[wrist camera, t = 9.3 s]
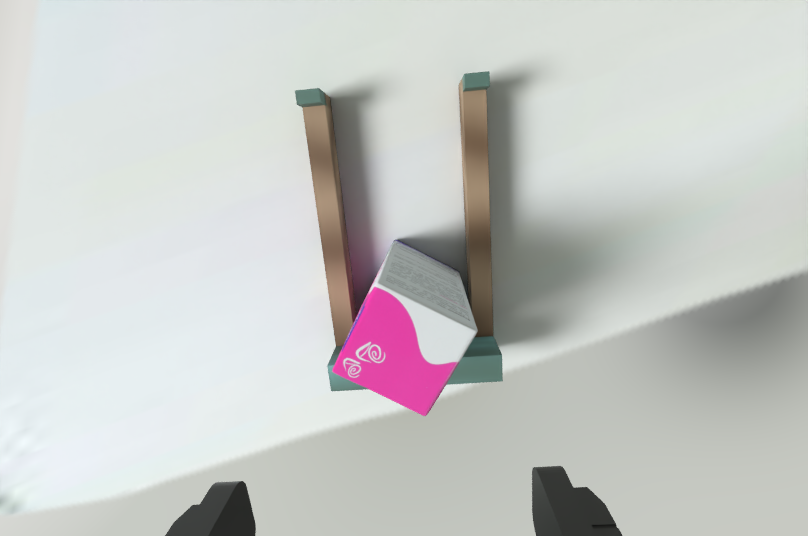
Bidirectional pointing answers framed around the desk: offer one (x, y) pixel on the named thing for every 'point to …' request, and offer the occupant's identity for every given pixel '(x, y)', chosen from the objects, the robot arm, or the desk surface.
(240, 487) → the robot arm
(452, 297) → the supplement box
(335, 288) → the guide lane
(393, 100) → the desk surface
